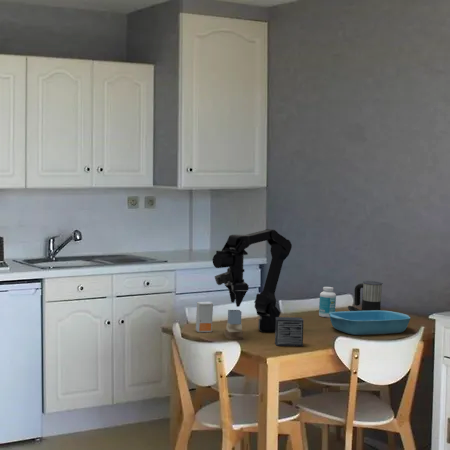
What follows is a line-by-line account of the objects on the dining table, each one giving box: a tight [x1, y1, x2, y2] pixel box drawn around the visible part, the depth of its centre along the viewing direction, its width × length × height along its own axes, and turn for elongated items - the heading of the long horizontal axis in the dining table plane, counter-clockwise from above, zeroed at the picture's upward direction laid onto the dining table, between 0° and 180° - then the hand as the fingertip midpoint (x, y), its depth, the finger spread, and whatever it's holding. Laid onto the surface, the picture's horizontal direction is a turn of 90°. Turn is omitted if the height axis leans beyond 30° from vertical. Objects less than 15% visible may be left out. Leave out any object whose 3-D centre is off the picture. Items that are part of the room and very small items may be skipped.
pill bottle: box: [318, 286, 337, 319], centre depth 409 cm, size 8×7×14 cm
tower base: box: [224, 329, 244, 340], centre depth 357 cm, size 6×6×3 cm
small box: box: [274, 316, 305, 347], centre depth 347 cm, size 11×6×10 cm, turn 92°
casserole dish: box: [329, 309, 411, 336], centre depth 381 cm, size 37×22×7 cm, turn 114°
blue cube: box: [227, 309, 243, 324], centre depth 356 cm, size 4×4×5 cm
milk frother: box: [347, 280, 383, 311], centre depth 420 cm, size 14×16×15 cm
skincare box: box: [195, 301, 214, 333], centre depth 367 cm, size 6×4×12 cm
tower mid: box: [226, 321, 243, 332], centre depth 357 cm, size 5×5×3 cm
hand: (235, 304), depth 359 cm, fingers open, 9 cm apart
